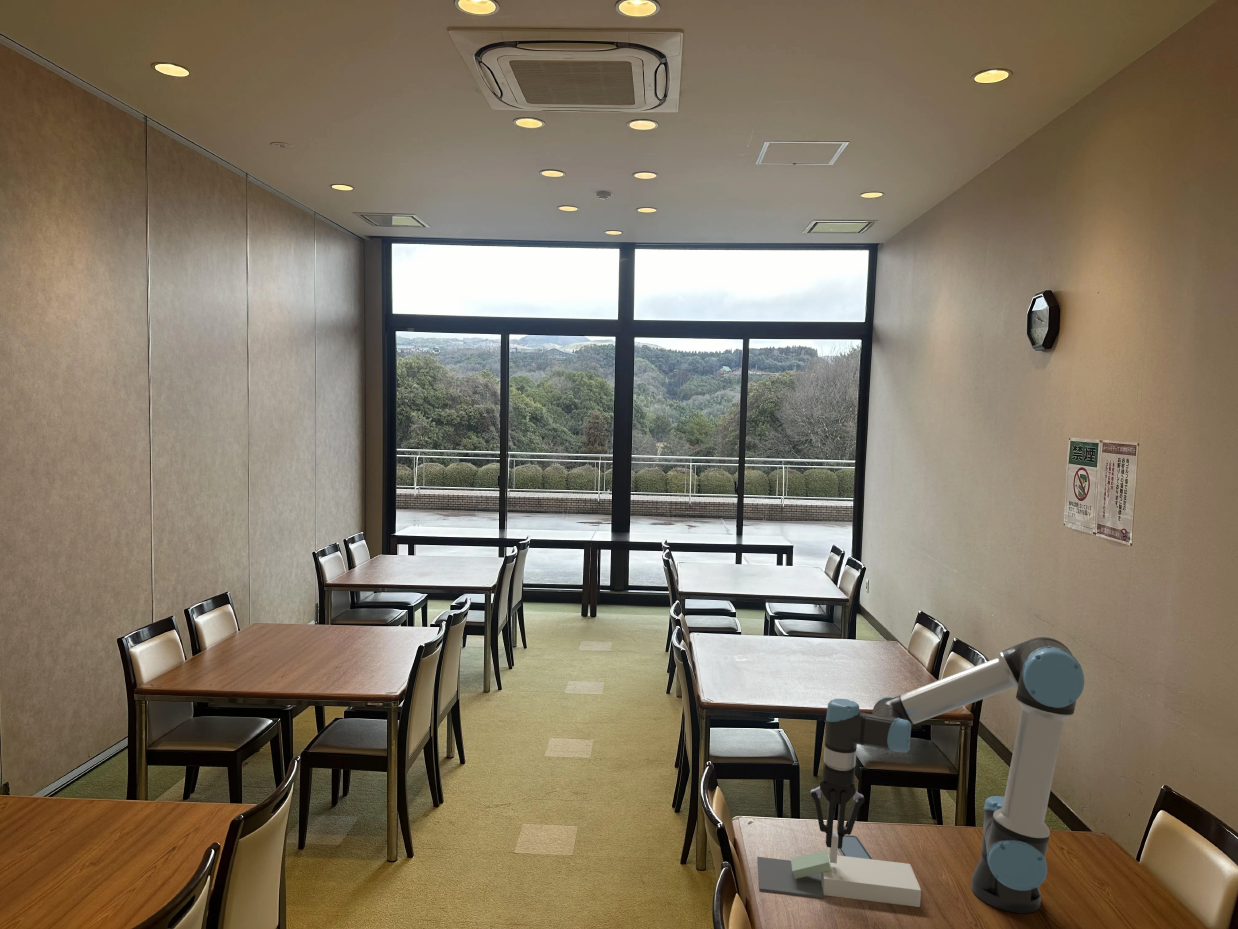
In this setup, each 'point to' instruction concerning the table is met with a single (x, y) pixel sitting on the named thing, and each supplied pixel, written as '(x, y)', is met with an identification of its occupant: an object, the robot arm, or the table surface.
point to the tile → (810, 864)
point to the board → (872, 881)
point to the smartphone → (853, 848)
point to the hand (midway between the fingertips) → (832, 860)
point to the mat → (786, 879)
